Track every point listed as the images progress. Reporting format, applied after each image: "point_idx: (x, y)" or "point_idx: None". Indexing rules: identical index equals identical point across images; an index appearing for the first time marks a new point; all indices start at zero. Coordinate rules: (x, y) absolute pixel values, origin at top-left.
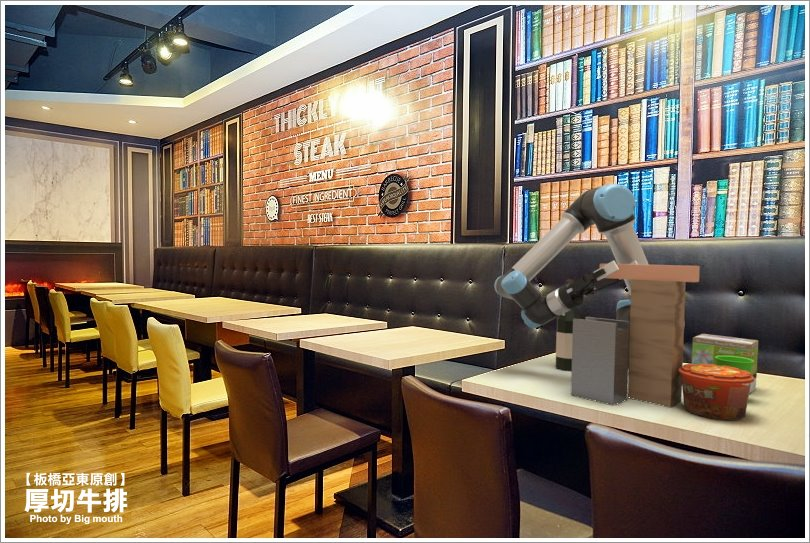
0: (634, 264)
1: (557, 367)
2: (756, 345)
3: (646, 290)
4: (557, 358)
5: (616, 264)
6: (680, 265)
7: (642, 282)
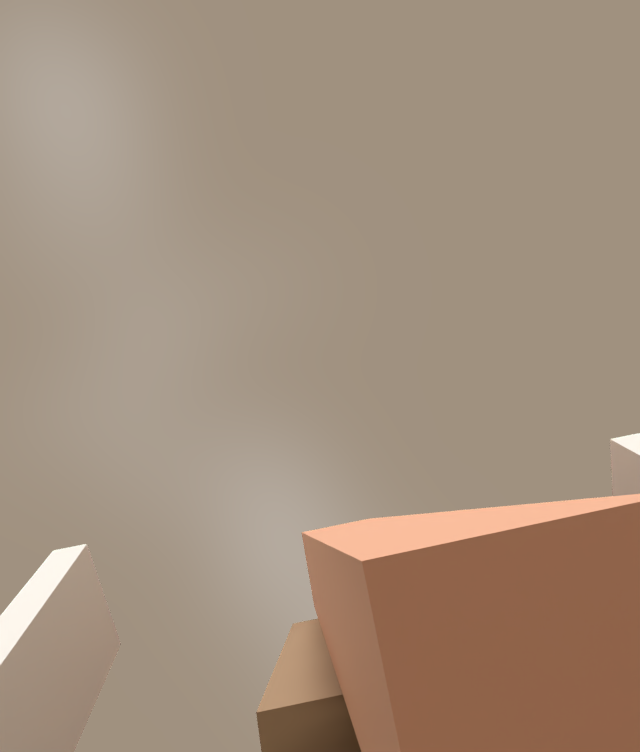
0: (418, 517)
1: None
2: None
3: None
4: None
5: (613, 485)
6: (304, 533)
7: None
